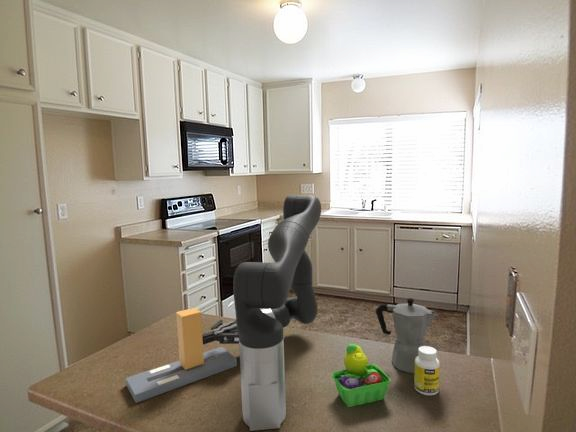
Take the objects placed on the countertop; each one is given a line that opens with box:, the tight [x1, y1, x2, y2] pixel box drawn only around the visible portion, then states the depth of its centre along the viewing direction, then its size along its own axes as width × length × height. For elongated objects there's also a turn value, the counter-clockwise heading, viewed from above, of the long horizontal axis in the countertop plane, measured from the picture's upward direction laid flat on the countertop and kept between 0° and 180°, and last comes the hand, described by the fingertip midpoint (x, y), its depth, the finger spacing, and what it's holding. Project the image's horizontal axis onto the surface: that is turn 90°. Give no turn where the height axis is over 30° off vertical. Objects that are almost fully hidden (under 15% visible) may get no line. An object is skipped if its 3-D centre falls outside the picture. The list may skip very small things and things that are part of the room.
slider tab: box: [175, 307, 204, 370], centre depth 97 cm, size 5×4×14 cm
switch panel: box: [125, 346, 238, 404], centre depth 96 cm, size 26×9×2 cm, turn 126°
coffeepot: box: [375, 297, 439, 374], centre depth 98 cm, size 15×9×18 cm, turn 67°
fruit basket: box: [331, 342, 391, 408], centre depth 85 cm, size 11×9×11 cm
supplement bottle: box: [413, 345, 441, 396], centre depth 87 cm, size 5×5×10 cm
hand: (199, 340), depth 98 cm, fingers closed
